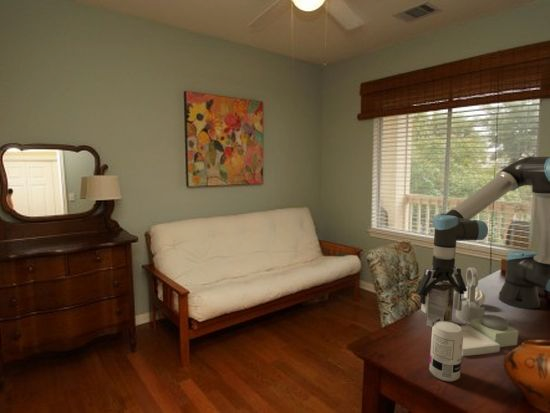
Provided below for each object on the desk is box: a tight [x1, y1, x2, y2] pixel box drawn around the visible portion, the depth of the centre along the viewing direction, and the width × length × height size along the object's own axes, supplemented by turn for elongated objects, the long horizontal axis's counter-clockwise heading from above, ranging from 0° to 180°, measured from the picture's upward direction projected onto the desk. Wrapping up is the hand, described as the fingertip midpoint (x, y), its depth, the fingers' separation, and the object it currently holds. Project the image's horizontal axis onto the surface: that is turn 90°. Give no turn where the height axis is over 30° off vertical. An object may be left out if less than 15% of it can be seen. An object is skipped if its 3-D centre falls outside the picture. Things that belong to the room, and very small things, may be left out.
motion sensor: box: [463, 287, 486, 307], centre depth 150 cm, size 8×8×8 cm
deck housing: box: [459, 314, 519, 357], centre depth 121 cm, size 24×14×7 cm, turn 101°
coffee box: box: [426, 281, 455, 328], centre depth 133 cm, size 9×6×16 cm
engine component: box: [455, 267, 486, 324], centre depth 139 cm, size 11×20×10 cm
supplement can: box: [429, 321, 463, 382], centre depth 102 cm, size 8×8×15 cm
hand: (440, 310), depth 133 cm, fingers open, 13 cm apart
